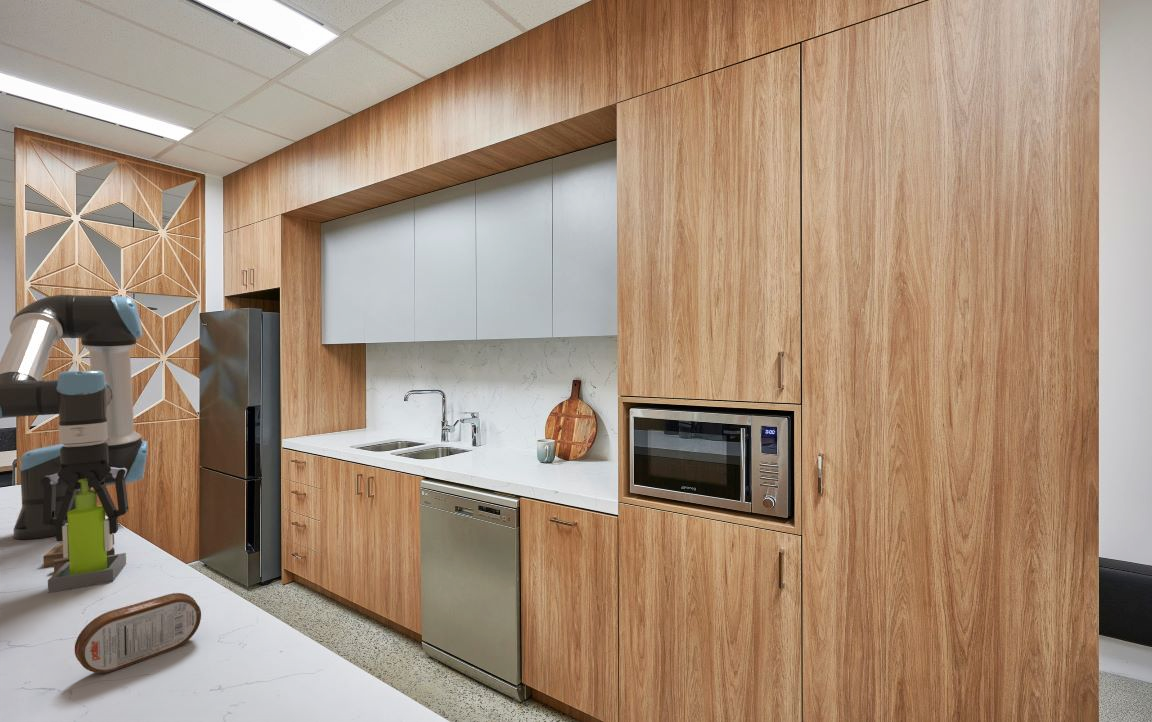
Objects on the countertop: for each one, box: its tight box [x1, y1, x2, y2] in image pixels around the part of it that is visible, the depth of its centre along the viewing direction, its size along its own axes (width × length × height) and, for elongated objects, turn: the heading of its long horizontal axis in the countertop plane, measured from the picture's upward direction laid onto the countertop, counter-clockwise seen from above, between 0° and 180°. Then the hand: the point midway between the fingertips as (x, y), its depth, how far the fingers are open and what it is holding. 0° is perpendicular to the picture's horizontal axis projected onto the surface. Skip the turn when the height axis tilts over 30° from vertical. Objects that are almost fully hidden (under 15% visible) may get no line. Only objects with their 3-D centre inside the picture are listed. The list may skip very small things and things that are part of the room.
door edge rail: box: [53, 546, 116, 575], centre depth 121 cm, size 2×10×2 cm, turn 136°
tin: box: [74, 592, 202, 674], centre depth 82 cm, size 15×3×8 cm, turn 141°
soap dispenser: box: [67, 478, 108, 575], centre depth 114 cm, size 6×7×20 cm
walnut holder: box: [42, 533, 115, 568], centre depth 128 cm, size 11×10×2 cm
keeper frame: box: [47, 552, 127, 594], centre depth 114 cm, size 11×10×2 cm
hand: (88, 552), depth 114 cm, fingers closed on soap dispenser, 6 cm apart
